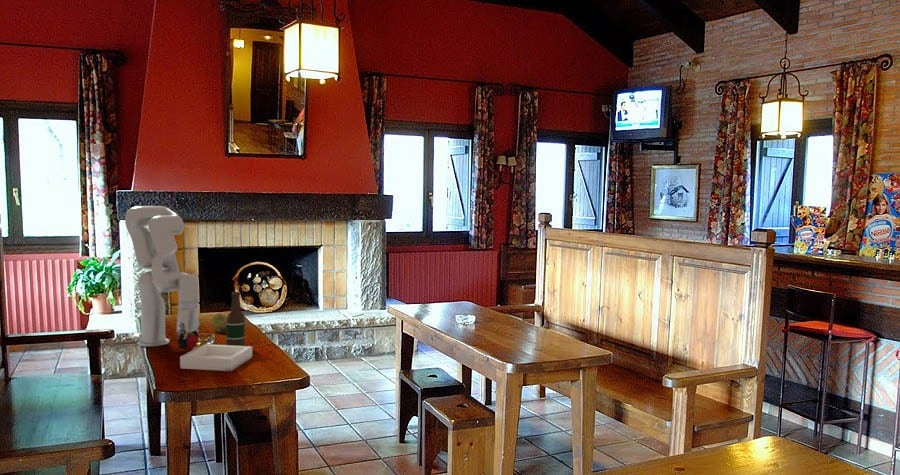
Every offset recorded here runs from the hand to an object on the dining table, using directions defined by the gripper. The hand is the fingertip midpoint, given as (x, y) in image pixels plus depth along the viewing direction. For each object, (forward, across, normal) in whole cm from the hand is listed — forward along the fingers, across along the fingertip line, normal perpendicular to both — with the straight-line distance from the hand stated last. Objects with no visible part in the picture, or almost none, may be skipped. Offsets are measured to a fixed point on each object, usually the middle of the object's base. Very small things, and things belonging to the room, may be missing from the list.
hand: (188, 345), depth 269 cm
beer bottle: (+3, -12, +15) cm, 19 cm away
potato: (+3, -40, -4) cm, 40 cm away
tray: (+3, +12, +18) cm, 22 cm away
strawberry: (+3, 0, 0) cm, 3 cm away
